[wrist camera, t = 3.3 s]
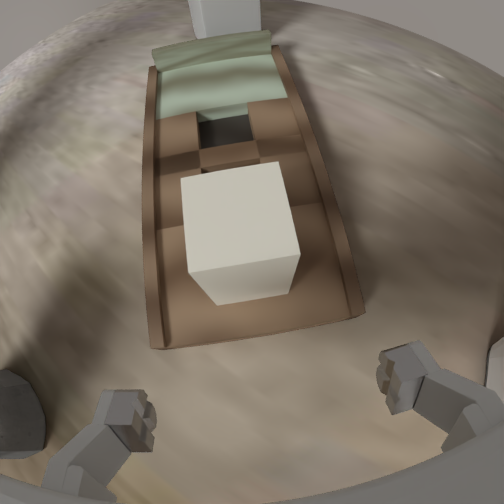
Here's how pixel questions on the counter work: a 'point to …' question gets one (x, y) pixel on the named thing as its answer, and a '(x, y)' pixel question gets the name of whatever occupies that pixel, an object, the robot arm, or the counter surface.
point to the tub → (496, 369)
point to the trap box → (227, 157)
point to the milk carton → (224, 17)
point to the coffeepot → (19, 418)
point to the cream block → (239, 233)
